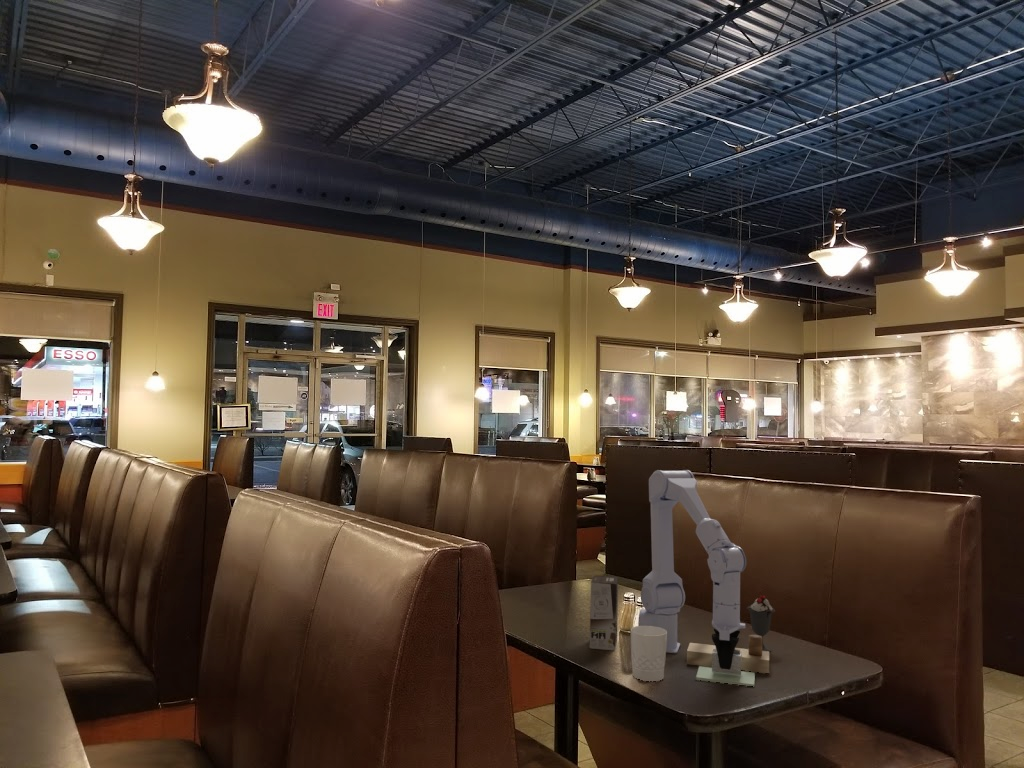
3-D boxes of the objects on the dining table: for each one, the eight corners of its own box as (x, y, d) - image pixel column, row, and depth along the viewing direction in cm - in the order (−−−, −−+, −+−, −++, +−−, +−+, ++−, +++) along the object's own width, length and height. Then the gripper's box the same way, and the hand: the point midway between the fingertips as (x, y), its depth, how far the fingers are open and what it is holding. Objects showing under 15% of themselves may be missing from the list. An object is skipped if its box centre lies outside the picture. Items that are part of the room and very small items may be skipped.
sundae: (756, 654, 184) (757, 592, 184) (741, 646, 190) (741, 586, 191) (780, 653, 185) (780, 591, 186) (764, 645, 192) (764, 585, 192)
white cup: (641, 668, 171) (641, 623, 172) (673, 676, 166) (673, 630, 167) (623, 677, 165) (623, 630, 166) (655, 685, 160) (656, 637, 161)
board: (696, 679, 164) (696, 677, 164) (699, 668, 172) (699, 666, 172) (754, 687, 161) (754, 684, 161) (754, 675, 168) (754, 672, 168)
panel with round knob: (686, 663, 175) (687, 633, 176) (689, 655, 182) (690, 625, 182) (769, 673, 169) (769, 642, 170) (769, 664, 176) (769, 634, 176)
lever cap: (712, 671, 165) (712, 650, 165) (713, 665, 169) (713, 644, 170) (740, 675, 163) (741, 653, 163) (741, 669, 167) (741, 647, 168)
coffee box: (615, 651, 184) (616, 583, 185) (588, 648, 185) (590, 582, 186) (617, 640, 193) (618, 576, 194) (592, 638, 194) (593, 574, 195)
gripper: (744, 611, 159) (743, 677, 158) (746, 597, 173) (745, 657, 172) (709, 608, 161) (709, 673, 160) (714, 594, 175) (713, 654, 174)
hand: (725, 665), depth 166 cm, fingers closed on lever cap, 4 cm apart
